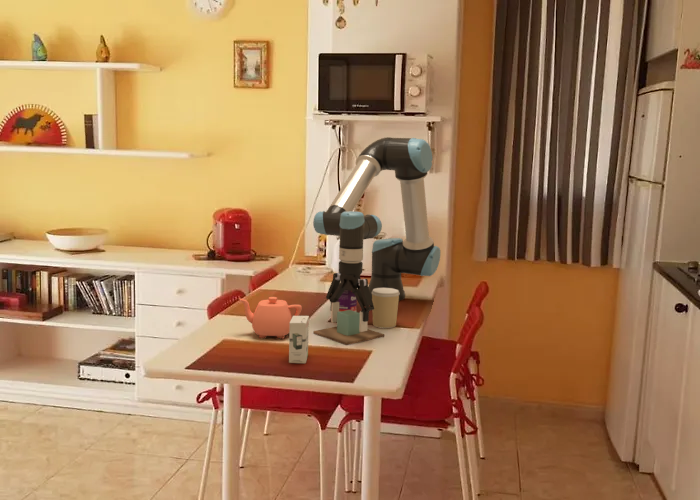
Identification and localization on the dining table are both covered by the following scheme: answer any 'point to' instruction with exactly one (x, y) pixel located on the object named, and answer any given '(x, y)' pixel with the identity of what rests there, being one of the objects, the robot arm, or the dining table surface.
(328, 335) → the post stand
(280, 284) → the dining table surface
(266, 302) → the teapot
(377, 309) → the coffee cup
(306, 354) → the ink box
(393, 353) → the dining table surface
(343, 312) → the teal green block
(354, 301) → the pill bottle
